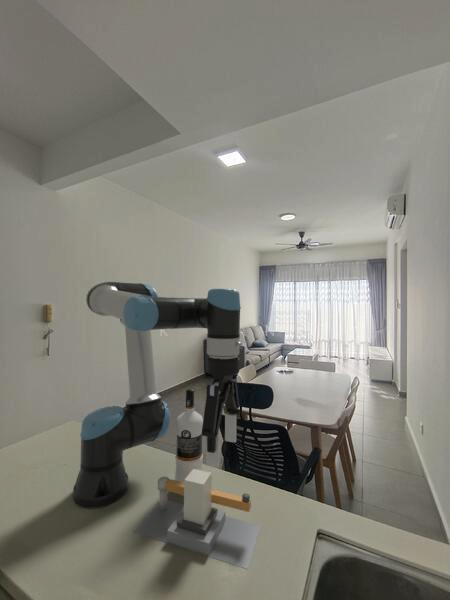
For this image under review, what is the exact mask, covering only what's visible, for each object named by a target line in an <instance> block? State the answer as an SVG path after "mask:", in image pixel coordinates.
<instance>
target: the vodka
mask: <svg viewBox="0 0 450 600" xmlns="http://www.w3.org/2000/svg"><path fill="white" fill-rule="evenodd" d="M203 419H204V417H203V416H202V415H201V414H200V413H198V412H197V411H196V410H195V389H193V388H186V389H185V411H183V412H182V413H181V414H179V415H178V416H177V418H176V421H175V435H176V439H175V441H176V443H175V473H174V479H173V480H175V481H179V482H183V483H184V480H185V478H186V477H187V476H188V475H189V474H190V472H191V471H192V470H193V469H197V470H201V471H204V469H203V457H204V455H203V446H204V445H203V443H204V442H203V438H204V436H202V426H203ZM179 496H183V497H184V495H181V494H179Z"/></svg>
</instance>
